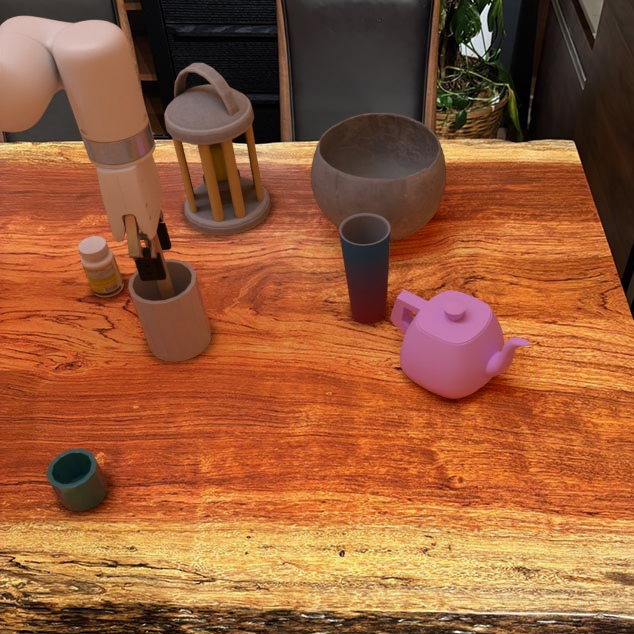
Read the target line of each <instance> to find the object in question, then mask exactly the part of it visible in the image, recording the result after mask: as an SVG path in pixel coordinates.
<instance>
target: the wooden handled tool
mask: <svg viewBox="0 0 634 634" xmlns="http://www.w3.org/2000/svg"><path fill="white" fill-rule="evenodd" d="M141 232H142V231H141V230H140V233H141ZM154 241H155V246H156V251H157V253H160V255H161V258H162V262H163V265H164V268H165V272H166V275H167V276H166V279H165V280H156V281H157V284H158V287H159V291H160V294H161V297H162V300H167V299H170V298H173V297H176V296H175V292H174V289H173V286H172V282H171V279H170V275H169V272H168V269H167V265H166V262H165V259H166V258H165V255H164V252H163V250H162V248H161V245H160V242H159V238H158V235H157V231H156V235H155V236H154ZM143 242H144V245H145V246H144V247H147V248H149V245H148V241H147V240H143Z"/></svg>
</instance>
